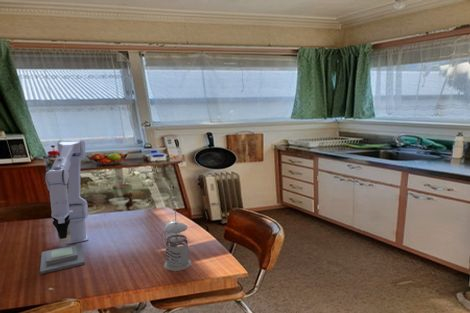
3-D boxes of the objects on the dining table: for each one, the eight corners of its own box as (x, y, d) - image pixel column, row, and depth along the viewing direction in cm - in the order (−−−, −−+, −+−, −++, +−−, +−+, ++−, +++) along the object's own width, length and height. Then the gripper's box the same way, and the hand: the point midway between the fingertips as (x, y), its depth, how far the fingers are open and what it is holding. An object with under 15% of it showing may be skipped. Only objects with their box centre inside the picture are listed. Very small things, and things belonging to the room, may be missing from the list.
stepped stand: (42, 254, 124) (41, 247, 124) (81, 246, 131) (80, 240, 131) (40, 274, 109) (39, 266, 108) (84, 264, 116) (84, 257, 115)
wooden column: (58, 240, 120) (57, 224, 120) (70, 237, 122) (69, 222, 121) (58, 243, 117) (57, 228, 116) (70, 241, 119) (69, 226, 118)
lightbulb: (178, 250, 125) (177, 224, 124) (163, 249, 126) (162, 223, 125) (184, 244, 131) (183, 218, 130) (170, 243, 133) (168, 218, 131)
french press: (178, 273, 108) (175, 202, 104) (154, 265, 114) (150, 197, 110) (197, 261, 116) (194, 195, 112) (173, 254, 122) (170, 191, 118)
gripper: (72, 204, 113) (76, 240, 115) (70, 195, 125) (73, 228, 127) (49, 207, 109) (53, 244, 111) (50, 198, 122) (53, 231, 124)
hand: (63, 236), depth 119 cm, fingers closed on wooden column, 4 cm apart
